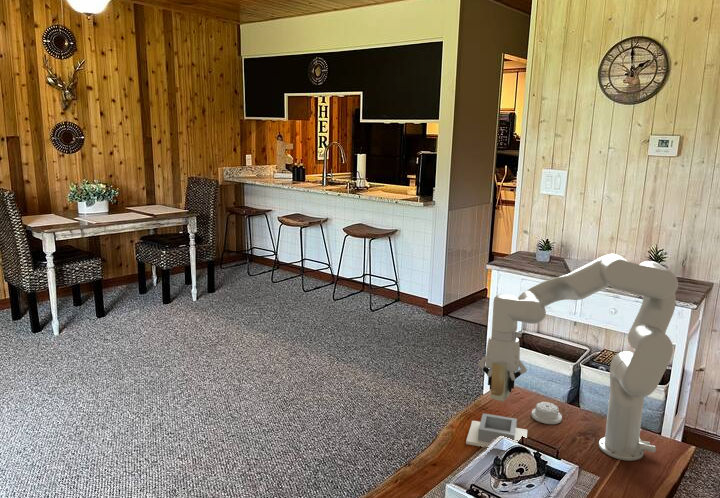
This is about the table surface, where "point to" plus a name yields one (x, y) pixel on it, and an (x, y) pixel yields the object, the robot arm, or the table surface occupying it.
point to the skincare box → (500, 382)
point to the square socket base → (493, 430)
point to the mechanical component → (547, 413)
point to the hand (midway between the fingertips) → (500, 388)
